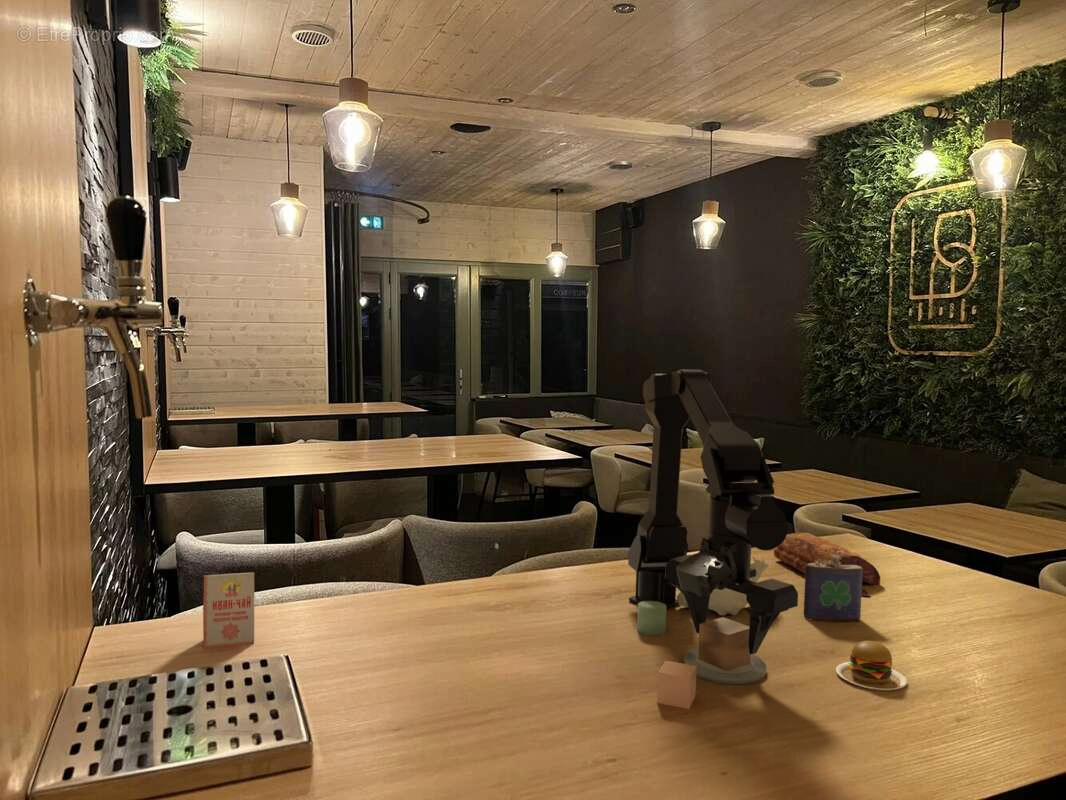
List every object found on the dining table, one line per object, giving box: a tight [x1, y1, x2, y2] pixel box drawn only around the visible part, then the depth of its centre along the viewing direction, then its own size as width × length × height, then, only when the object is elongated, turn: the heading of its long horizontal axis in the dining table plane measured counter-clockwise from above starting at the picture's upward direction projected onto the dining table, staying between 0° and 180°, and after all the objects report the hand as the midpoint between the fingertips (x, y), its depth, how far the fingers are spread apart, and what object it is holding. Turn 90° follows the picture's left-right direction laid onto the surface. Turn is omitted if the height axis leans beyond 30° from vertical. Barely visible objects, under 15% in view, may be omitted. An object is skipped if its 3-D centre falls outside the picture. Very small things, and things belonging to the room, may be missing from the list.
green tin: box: [636, 601, 667, 636], centre depth 123 cm, size 4×4×4 cm
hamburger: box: [835, 640, 908, 691], centre depth 107 cm, size 12×12×6 cm
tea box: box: [202, 571, 255, 650], centre depth 115 cm, size 4×7×10 cm, turn 109°
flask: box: [803, 555, 863, 622], centre depth 130 cm, size 9×3×11 cm, turn 87°
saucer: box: [683, 647, 767, 685], centre depth 110 cm, size 11×11×1 cm
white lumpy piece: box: [676, 556, 769, 616], centre depth 134 cm, size 15×7×15 cm
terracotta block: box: [656, 660, 697, 710], centre depth 99 cm, size 4×4×4 cm
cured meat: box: [773, 532, 881, 597], centre depth 155 cm, size 18×25×7 cm
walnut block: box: [698, 617, 751, 671], centre depth 109 cm, size 5×5×5 cm
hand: (725, 642), depth 109 cm, fingers open, 9 cm apart
